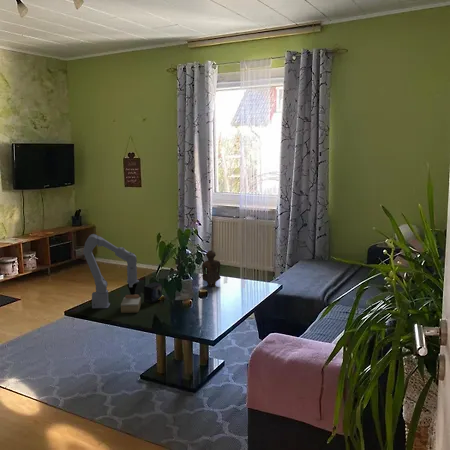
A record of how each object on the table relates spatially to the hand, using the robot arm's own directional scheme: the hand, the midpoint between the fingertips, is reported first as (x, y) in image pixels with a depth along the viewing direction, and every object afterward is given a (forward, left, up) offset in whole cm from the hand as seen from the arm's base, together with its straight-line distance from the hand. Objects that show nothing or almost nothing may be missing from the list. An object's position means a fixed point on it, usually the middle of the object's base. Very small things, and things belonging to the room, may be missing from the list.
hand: (132, 295), depth 293 cm
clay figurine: (+49, +37, -6) cm, 61 cm away
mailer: (0, -7, -6) cm, 9 cm away
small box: (+12, +7, -6) cm, 15 cm away
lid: (0, -7, -2) cm, 7 cm away
